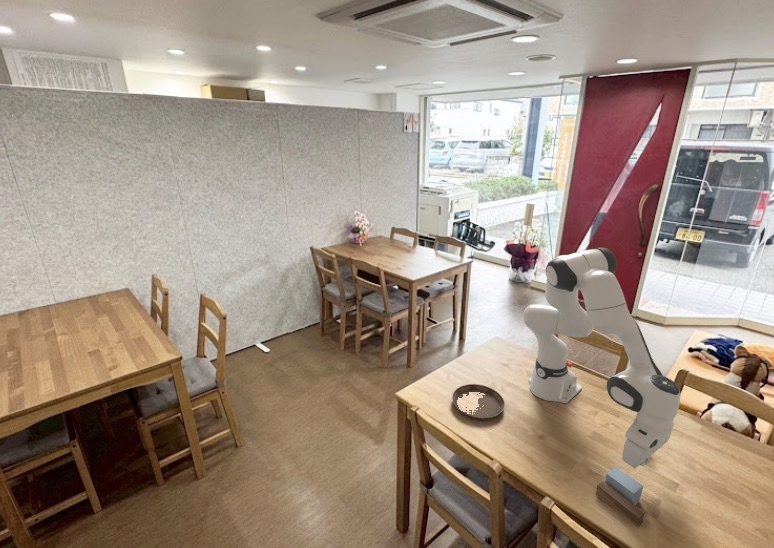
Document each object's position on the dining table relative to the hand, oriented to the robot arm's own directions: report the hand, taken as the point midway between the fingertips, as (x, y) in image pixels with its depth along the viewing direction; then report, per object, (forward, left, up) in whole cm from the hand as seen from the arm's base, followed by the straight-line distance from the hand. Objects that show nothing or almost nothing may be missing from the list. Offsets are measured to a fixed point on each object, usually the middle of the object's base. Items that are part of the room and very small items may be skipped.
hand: (642, 462), depth 116 cm
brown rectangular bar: (+14, +2, -7) cm, 16 cm away
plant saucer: (+18, -53, -8) cm, 56 cm away
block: (+9, 0, -7) cm, 12 cm away
